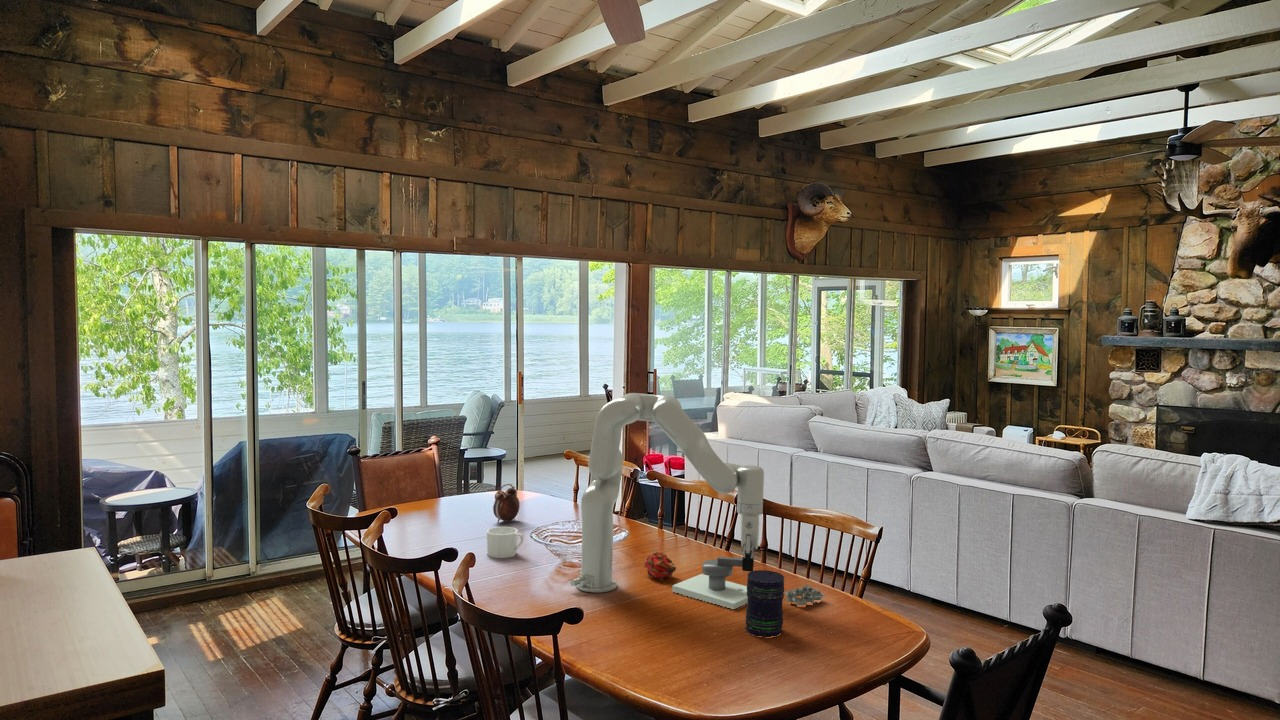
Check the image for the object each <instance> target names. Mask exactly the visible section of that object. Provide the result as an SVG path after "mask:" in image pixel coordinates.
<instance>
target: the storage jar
mask: <svg viewBox="0 0 1280 720" xmlns="http://www.w3.org/2000/svg"><path fill="white" fill-rule="evenodd" d="M746 586H747V596H748V603H747V604H746V605H747V607H746V610H745V625H746V626H745V631H746V630H747V632H748V633H750V634H753V635H755V636H762V637H771V636H777V635H779V634H780V633H782V634H783V624H784V612H783V600H784V597H785V593H784V592H785V576H784V575H783V574H782V573H780V572H777V571H772V570H765V569H763V570H762V569H761V570H753V571H752V572H751V571H748V573H747V583H746ZM747 632H746V633H747ZM748 633H747V634H748ZM750 634H749V635H750Z"/></svg>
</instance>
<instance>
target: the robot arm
mask: <svg viewBox="0 0 1280 720" xmlns="http://www.w3.org/2000/svg"><path fill="white" fill-rule="evenodd" d="M682 407H683V406H682V405H681V403H680V400H678V399H677V398H675V397H673V396H671V395H662V394H661V395H660V394H650V393H649V394H648V393H639V392H630V393H629V392H628V393H626V394H624V395H622V396H620V397H618V398H615V399H613V400H611V401H609V402H608V403H606V404H605V405H603V406H602V408H601V409H600V410H599V411H598V413H597V415H596V418H595V421H594V427H593V433H592V439H591V444H590V451H589V452H590V453H589V457H588V464H587V466H588V471H589V473H590V481H589V486H588V487H587V488H585V490H584V492H583V493H582V496H581V499H580V500H581V502H580V512H581V513H580V514H581V562H580V563H581V564H580V565H581V566H580V567H581V568H580V572H578V576H577V578H574V579H571V580H570V582H569V585H570V586H571V587H576V588H577V589H578V590H580V591H582V592H588V593H606V592H607V593H608V592H610V591H614V590H615V589H617V587H618V582H617V580H616V579H615V578H613V557H614V556H613V555H614V554H613V553H614V552H613V551H614V505H615V504H616V502H617V500H618V498H619V493H620V488H621V480H622V474H623V473H622V472H623V467H624V466H623V465H624V457H623V453H622V452H621V450H620V445H621V441H622V440H621V438H622V431H623V428H624V427H625V426H626V425H630V424H633V423H635V422H637V421H641V422H654V423H655V424H656V425H657V426H658V427H659V428H660V429H661V431H663V432H664V434H665V435H666V436H667V437H668V438H669V439H670V440H671V441H672V443H673V444H675V445H676V446H677V448H679V450H680V451H681V452H682V453H683V455H684V457H685V458H686V459H687V460H688V461H689V462H690V464H691V465H692V466H693V468H694V469H695V470H696V471H697V473H698V474H699V475H700V476H701V477H702V478H703V480H705V482H706V483H707V484H708V485H709V486H710V487H711V488H712V489H713V490H714V491H716V492H717V493H719V494H722V495H723V494H724V495H727V494H730V493H732V492H733V491H734V490H735V489H736V488H737V504H736V506H737V507H736V513H738V514H739V515H740V543H741V544H740V545H741V548H742V549H743V552H744V553H742V554H743V555H742V558H743V560H742V567H741V570H742V571H743V572H752V571H754V564H755V563H754V561H755V557H754V558H753V552H754V549H755V550H757V549H758V548H759V539H760V538H759V536H760V516H761V515H763V513H764V511H763V508H764V485H765V483H764V481H765V478H764V477H765V471H764V469H763V467H761V466H758V465H753V464H751V465H750V464H749V465H740V464H736V463H730V462H724V461H723V460H722V459H721V458H720V457H719V456H718V455H717V454H716V452H715V451H714V449H713V448H712V446H711V444H710V442H709V440H708V438H707V436H706V434H705V433H704V431H702V429H701V428H700V427H699V426H698V425H697V424H696V423H695V422H694V420H692V418H691V417H690V416H689V415H688V414H687V413H686V412H685V411H684V410H683V409H682Z"/></svg>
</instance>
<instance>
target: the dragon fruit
mask: <svg viewBox="0 0 1280 720" xmlns="http://www.w3.org/2000/svg"><path fill="white" fill-rule="evenodd" d="M643 568H645V569H647V575H648V577H649V578H651V577H652V576H653V577H654V578H655V579H657V580H659V581H666V579H664V578H665V577H666V578H668V577H669V578H671V577H672V576H673V574H674V572H676V569H677V567H676V566H675V564H674V563H673V561H672V559H670V558H669V557H668V556H667V555H666V554H665V553H662V552H660V551H656V552H652V553H651V554H650V555H648V556H647V558H646V561H645V562H644V564H643ZM662 578H663V579H662Z"/></svg>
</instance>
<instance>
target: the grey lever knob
mask: <svg viewBox="0 0 1280 720" xmlns="http://www.w3.org/2000/svg"><path fill="white" fill-rule="evenodd" d="M743 553H744V551H743ZM743 553H742V554H743ZM753 558H754V559H755V553H754V551H753ZM742 560H743V557H733V556H732V557H730V556H717V559H714V558H713V559H706V560H704V561H702V569H701V570H702V571H701V572H702V574H704V575H707V576H712V577H730V576H732V575H733V569H734V567H739V568H742Z"/></svg>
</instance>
